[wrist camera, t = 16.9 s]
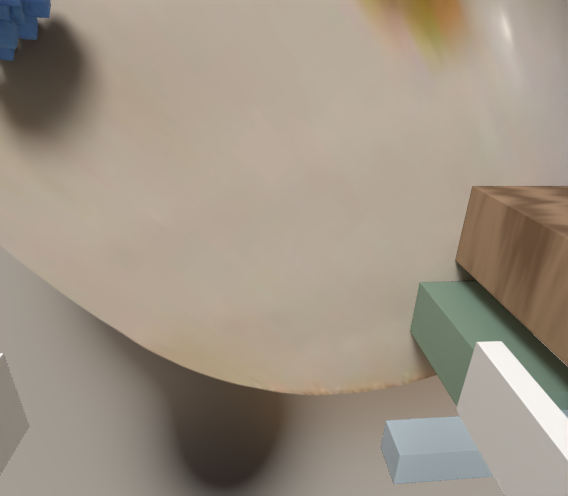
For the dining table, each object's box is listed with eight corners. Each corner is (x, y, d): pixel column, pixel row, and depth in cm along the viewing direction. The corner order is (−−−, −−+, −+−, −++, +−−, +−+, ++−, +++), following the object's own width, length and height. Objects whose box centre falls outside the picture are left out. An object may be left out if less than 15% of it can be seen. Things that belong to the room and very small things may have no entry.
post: (410, 331, 57) (488, 456, 39) (419, 282, 54) (509, 395, 36) (463, 329, 58) (564, 451, 40) (476, 281, 55) (592, 390, 37)
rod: (380, 447, 37) (393, 484, 34) (385, 420, 36) (399, 455, 32) (673, 428, 40) (710, 460, 37) (689, 402, 39) (729, 433, 35)
